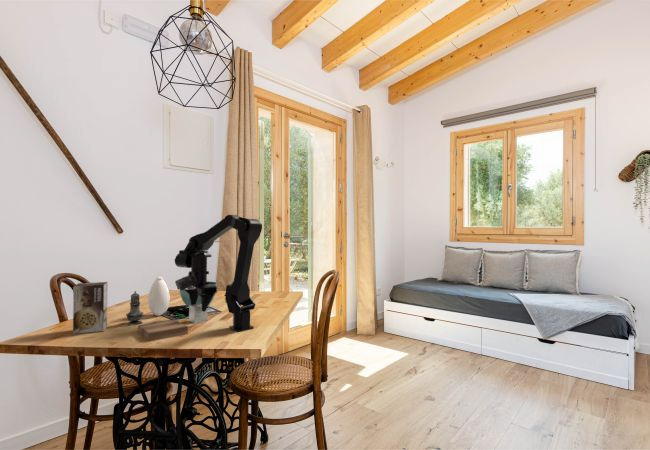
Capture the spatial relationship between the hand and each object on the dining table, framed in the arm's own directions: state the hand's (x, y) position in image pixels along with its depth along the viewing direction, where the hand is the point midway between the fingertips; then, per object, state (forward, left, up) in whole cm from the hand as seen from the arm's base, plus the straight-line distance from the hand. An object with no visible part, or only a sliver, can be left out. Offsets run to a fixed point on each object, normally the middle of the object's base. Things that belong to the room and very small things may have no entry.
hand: (198, 309), depth 137 cm
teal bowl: (+22, -10, -5) cm, 25 cm away
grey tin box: (0, 0, -4) cm, 5 cm away
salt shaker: (+12, +19, -5) cm, 23 cm away
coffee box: (+12, +33, -5) cm, 35 cm away
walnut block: (-8, +16, -5) cm, 19 cm away
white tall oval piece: (+19, +8, -5) cm, 21 cm away
